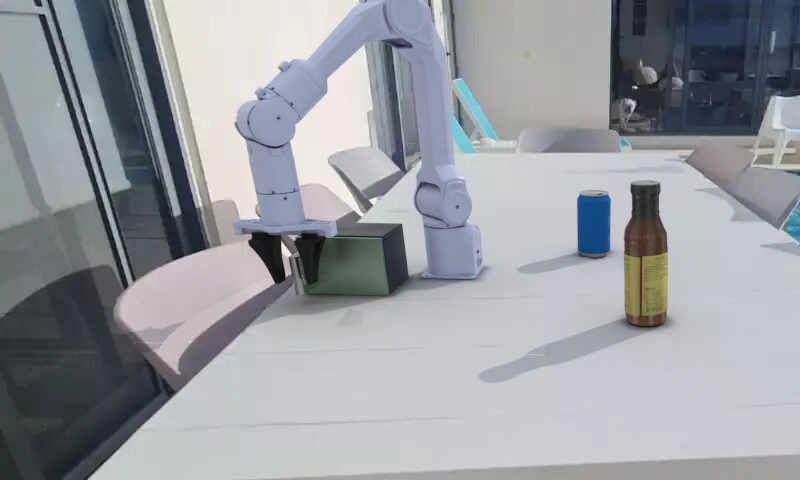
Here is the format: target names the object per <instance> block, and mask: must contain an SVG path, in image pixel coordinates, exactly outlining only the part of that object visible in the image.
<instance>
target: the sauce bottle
mask: <svg viewBox="0 0 800 480" xmlns="http://www.w3.org/2000/svg"><path fill="white" fill-rule="evenodd" d="M629 188H630V190H629V191H630V194H631V217H630V219H629V221H628V223H627V224H626V226H625V228H624V233H623V245H624V247H623V248H624V249H623V281H624V282H623V283H624V285H623V286H624V288H623V289H624V290H623V291H624V293H623V294H624V297H623V298H624V312H625V318H626V320H627V322H628V323H629V324H631V325H635V326H639V327H655V326H659V325H662V324H663V323H665V322H666V321H667V315H668V299H669V297H668V295H669V294H668V293H669V292H668V290H669V289H668V287H669V283H668V281H669V280H668V279H669V275H668V274H669V245H668V233H667V230H666V228H665V226H664V224H663V223H664V222H663V221H662V218H661V216H660V213H661V211H660V195H661V191H662V190H661V188H662V187H661V182H660V181H657V180H652V179H642V180H641V179H640V180H635V181H631V182H630V187H629Z"/></svg>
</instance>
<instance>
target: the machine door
mask: <svg viewBox="0 0 800 480" xmlns="http://www.w3.org/2000/svg"><path fill="white" fill-rule="evenodd" d="M299 238H302V237H301V236H298V235H296V236H295V237H294V239H295V240H297V239H299ZM287 258H288V263H289V267H290V273H291V277H292V282H293V287H294V291H295V296H298V297H301V296H305V295H307V294H308V295H341V296H342V295H345V296H350V295H351V296H379V297H381V296H383V297H384V296H386V297H388V296H390V295H391V294H390V292H389V285H388V278H387V271H386V264H385V256H384V249H383V242H382V238H370V237H326V241H325V243H324V246H323V249H322V252H321V256H320V261H319V268H318V281H317V282H316V283H314V284H312V285H308V284H307V282H306V279H305V274H304V269H303V264H302V261H301V258H300V255H299V253H298V251H296V252H295V253H293V254H290V255H289V256H288V257H287Z"/></svg>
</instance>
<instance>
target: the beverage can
mask: <svg viewBox="0 0 800 480" xmlns="http://www.w3.org/2000/svg"><path fill="white" fill-rule="evenodd" d="M609 195H610V194H609V191H606V190H603V189H588V190H587V189H584V190H581V191H579V194H578V196H577V198H576V205H577V206H576V208H577V209H576V219H577V220H576V224H577V228H576V229H577V233H576V234H577V251H578V252H579V254H581V255H582V256H583V257H586V258H601V257H604V256H606V255H607V254H608V253H610V252H611V220H612V219H611V217H612V216H611V215H612V214H611V213H612V212H611V211H612V210H611V209H612V198H611V197H610V196H609Z"/></svg>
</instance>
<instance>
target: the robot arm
mask: <svg viewBox="0 0 800 480" xmlns="http://www.w3.org/2000/svg"><path fill="white" fill-rule="evenodd" d="M378 41H379V42H382V43H383V44H386V45H388V46H390V47H392V48H394V49H395V50H396V51H397V52H398V53H399V54H400V55H402V57H404V58H405V59H406V60H407V61H408V62H409V63H410V65H411V74H412V82H413V93H414V103H415V112H416V123H417V132H418V142H419V152H420V162H421V166H420V168H419V170H418V172H417V173H416V175H415V180H416V186H415V189H414V193H413V196H412V197H413V201H412V202H413V205H414V208H415V210H416V211H417V212H418V214H419V215H421V218H422V224H423V233H424V243H425V251H426V262H427V269H426V270H425V271H424V272H423V273H422V274H421V275H420V278H422V279H446V280H474V279H476V278H477V276H478V275H479V274H480V273H481V271H482V270H483V269H484V267H485V264H484V262H483V261H484V260H483V247H482V245H483V244H482V235H481V234H482V233H481V229H480V226H479V225H478V224H473V223H468V222H467V221H468V220H469V218H470V216H471V214H472V211H473V200H472V198H471V195H470V194H469V192H468V189H467V184H466V179H465V177H464V175H462V173H461V172H460V170H459V169H458V168H457V166H456V161H455V150H454V149H455V148H454V138H453V135H454V134H453V125H452V111H451V100H450V98H451V97H450V87H449V76H448V75H449V74H448V64H447V63H448V62H447V51H446V47H445V45H444V42H443V40H442V38H441V36H440V35H439V33H438V30H437V28H436V26H435V24H434V22H433V14H432V8H431V7H430V6H429V5H428V4H427V3H426V2H425V1H424V0H363V1H362V2H360V3H357V4H356V5H355V6H354V7H352V8H351V9H350V11H349V12H348V13H347V14H346V15H345V17H344V18H343V19H342V20H341V21H340V22H339V23H338V24H337V26H336V27H335V28H334V29H333V30H332V31H331V32H330V33H329V35H328V36H327V37H326V38H325V39H324V40H323V42H321V44H320V45H319V46H318V47H317V48H316V49H315V50H314V52H313V53H312V54H311V55H310V56H309V57H308V58H307V59H301V58H293V59H291V60H290V61H287V60H284V61H282V62H280V64H278V65H277V69H278V70H279V72H278V74H277V75H275V76H274V77H273V79H271V81H269V82H268V83H267V84H266V85H265V86H264V87H263V88H262V87H258V88H256V90H255V91H254V94H255V95H256V98H257V99H252V100H247V101H245V102H243V103H242V104H241V105H240V106H239V108H238V109H237V111H236V114H237V115H236V116H235V121H234V122H233V124H234V127H235V130H236V131H237V133H238V134H239V135H240V136H241V137H242V138H243V139H244V140H245V141H244V142H245V145H246V150H247V154H248V162H249V163H248V164H249V167H250V172H251V176H252V181H253V186H254V189H255V196H256V199H257V205H258V208H259V213H260V218H250V219H248V218H247V219H246V218H245V219H241V218H240V219H238V220H234V221H233V222H232V226H233V230H234V234H235V236H245V235H251V238H250V239H248V240H247V244H248V246H249V247H250V248H251V250H253V251H254V252H255V253H256V255H257V256H258V257H259V258H260V260H261V261H262V263H263V264H264V265H265V267H266V269H267V272H269V275H270V277H271V278H272V280H273V283H274V284H275V285H280V284H281V283H283V282H285V281H286V280H287V276H286V269H285V264H284V260H283V249H282V247H283V246H282V237H283V236H298V235H301V237H302V238H299V239H297V240H296V239H295V240H293V244H294V246H295V249H296V250H297V252H298V253H299V255H300V258H301V261H302V264H303V269H304V274H305V279H306V282H307V284H308V285H312V284H314V283H316V282H317V281H318V268H319V261H320V256H321V252H322V249H323V246H324V243H325V241H326V237H333V236H335V235H337V234H338V232H337V226H336V222H337V221H336V220H323V219H322V220H321V219H315V218H306V216H305V210H304V209H305V208H304V203H303V199H302V194H301V188H300V184H299V178H298V171H297V167H296V162H295V157H294V154H293V148H292V143H291V141H292V140H293V139H294V137H295V135H296V125H298V124H299V123H300V122H301V121H302V120H303V119H304V118H305V116H307V115H308V114H309V112H311V110H313V109H314V107H316V105H317V104H319V102H320V101H321V100H322V99H324V97H325V96H326V95H327V94H328V93H329V91H328V89H329V87H328V79H329V78H330V77H331V76H332V75H333V74H334V73H335V72H336V71H337V70H339V69H340V67H342V65H344V64H345V63H346V62H347V61H348V60H349V59H350V58H351V57H352V56H354V55H355V54H356V53H357V52H358V51H359V50H360V49H361V48H362V47H363V46H365V45H366V44H367V43H373V42H378Z"/></svg>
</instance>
